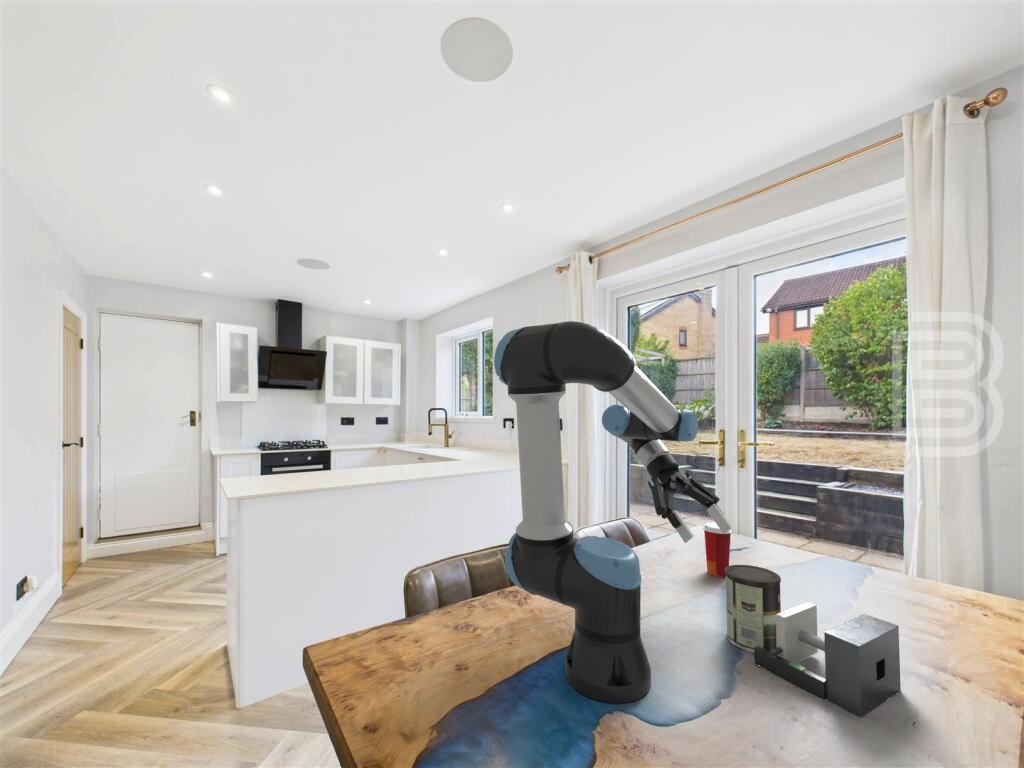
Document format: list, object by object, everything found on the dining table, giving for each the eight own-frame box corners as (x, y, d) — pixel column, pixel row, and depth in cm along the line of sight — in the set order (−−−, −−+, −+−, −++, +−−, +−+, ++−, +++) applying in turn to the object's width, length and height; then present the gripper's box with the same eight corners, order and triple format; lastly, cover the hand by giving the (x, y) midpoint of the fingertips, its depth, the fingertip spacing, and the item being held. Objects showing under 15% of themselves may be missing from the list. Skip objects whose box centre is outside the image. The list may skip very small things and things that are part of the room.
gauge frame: (754, 663, 84) (753, 604, 85) (797, 644, 92) (796, 589, 92) (859, 719, 70) (857, 647, 70) (900, 690, 77) (898, 625, 77)
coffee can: (771, 632, 96) (769, 566, 97) (790, 658, 86) (789, 584, 87) (720, 627, 99) (719, 562, 99) (733, 652, 88) (732, 579, 89)
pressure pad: (767, 668, 81) (766, 617, 82) (809, 648, 88) (807, 601, 89) (834, 703, 72) (833, 646, 72) (875, 678, 79) (873, 626, 79)
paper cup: (733, 572, 131) (733, 524, 132) (730, 581, 125) (729, 530, 125) (705, 567, 135) (704, 520, 136) (700, 575, 129) (700, 526, 130)
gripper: (682, 466, 124) (733, 535, 111) (615, 474, 112) (662, 552, 99) (698, 449, 120) (753, 518, 106) (629, 455, 108) (681, 534, 94)
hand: (709, 535), depth 102 cm, fingers open, 13 cm apart
